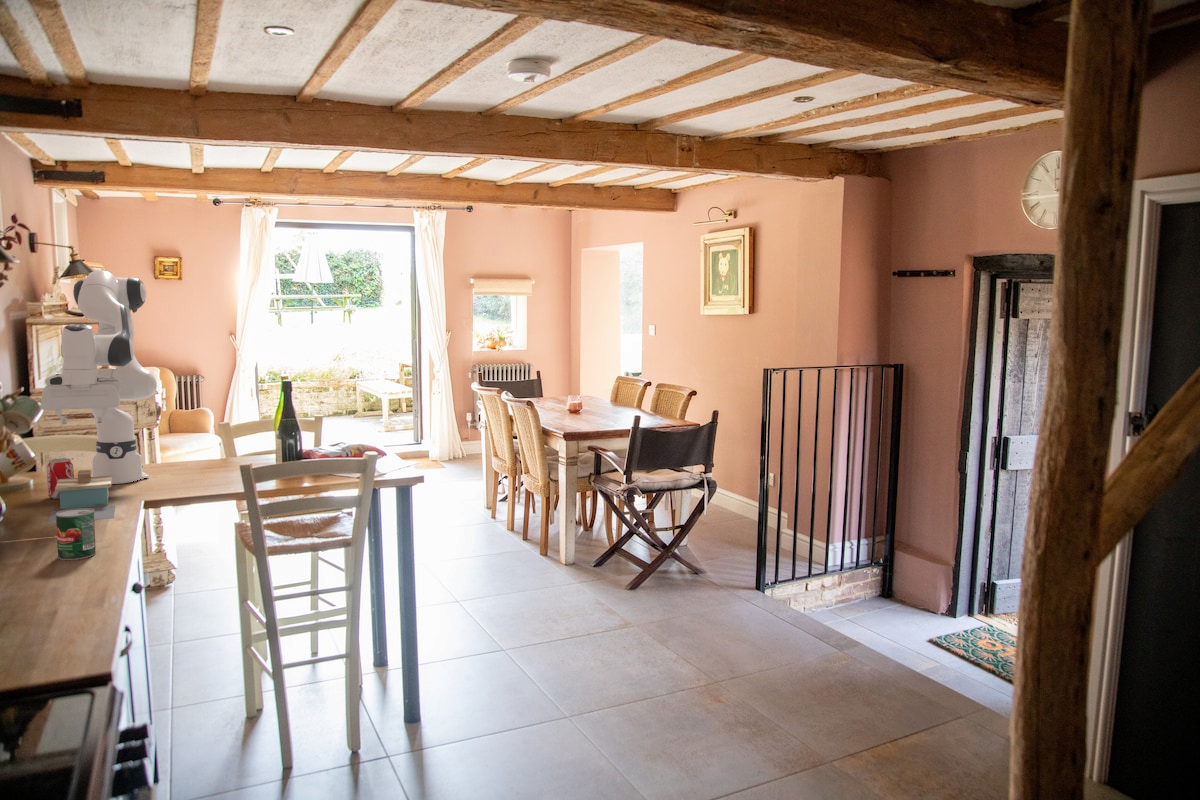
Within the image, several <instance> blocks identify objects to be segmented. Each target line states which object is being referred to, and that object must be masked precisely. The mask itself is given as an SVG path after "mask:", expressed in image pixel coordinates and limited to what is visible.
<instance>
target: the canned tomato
mask: <svg viewBox="0 0 1200 800" xmlns="http://www.w3.org/2000/svg"><path fill="white" fill-rule="evenodd" d="M90 508H91V507H80V508H68V509H63V510H64V511H60V512H58V513H56V523H55V524H56V541H57V543H56V544H57V559H58V560H59V559H60V561H65V560H71V561H79V559H80V560H85V559H88V557H89V558H91V556H92V557H94V556H95V555H96V554H97V552H96V548H97V547H96V530H95V528H96V527H95V520H94V510H93V509H90ZM93 555H94V556H93ZM84 558H85V559H84Z"/></svg>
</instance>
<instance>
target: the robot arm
mask: <svg viewBox="0 0 1200 800" xmlns="http://www.w3.org/2000/svg"><path fill="white" fill-rule="evenodd" d="M146 289H147V288H146V286H145V285H144V282H143V281H142V280H141V279H140V278H136V277H131V276H130V277H129V276H128V277H121V276H120V277H119V276H117V277H116V276H115V275H114V274H113V273H111V272H109V271H107V270H103V269H98V270H97V269H96V270H93V271H92V272H90V273H89V274H87V276H86V277H85V278H84V279H80V280H78V281H76V283H75V284H74V286H73V290H72V291H73V292H72V295H73V299H74V301H75V304H76V305H77V306H78V309H79V310H80V313H82V314H83V315H84V316H85V317H86V318H88V319H89V320H91V321H93V322H96V323H97V322H98V326H97V327H98V328H97V334H94V333H95V332H94V328H93V326H91V325H89V324H85V323H73V324H68V325H66V326H64V327H63V328H62V333H61V343H60V352H61V358H62V359H63V363H62V368H61V369H62V370H61V371H62V372H61V373H56V374H54V375H51V376H47V377H46V378H45V379H44V384H45V385H46V386H44V388H43V389H42V392H41V399H40V407H41V409H42V410H44V411H51V410H52V411H53V410H55V414H56V416H57V417H58V418H59V420H60V425H67V424H68V421H67V420H68V418H67V417H64V416H63V415H62V414H61V413H62V412H63V410H83V409H84V410H85V409H86V410H87V409H89V410H90V411H91V413H92V415H93V417H94V420H95V426H96V427H95V428H96V437H97V440H96V443H95V444H96V445H95V449H96V454H95V455H94V456H93V457H92V458H91V461H90V462H91V477H97V476H112V482H111V485H114V484H115V485H116V484H118V485H119V484H127V483H128V484H129V483H133V481H134V482H137V480H138V481H141V480H145V479H144V478H147V479H149V478H150V476H149V474H147V473H146V472H144V471H143V462H142V461H143V460H142V455H141V454H140V453H139V452H138V451H137V444H138V443H137V439H136V438H135V420H134V418H133V417H132V415H131V414H129V413H128V412H126V411H123V410H121V409H118V408H119V407H120V406H121V402H122V401H139V400H140V401H141V400H145V399H150V398H151V397H152V396H153V395H154V394H155V392H156V390H157V383H158V382H157V379H156V377H155V375H154V374H153V373H152V372H151V371H150V370H148V369H146V368H145V367H143V366H142V365H141V364H140V362H138V360H137V357H136V355H135V343H134V342H135V330H134V328H135V327H134V321H133V316H132V313H133V314H135V313H137V311H138V310H139V309H140V308H142V306H143V305H144V304H145V302H146V299H147V290H146ZM131 311H132V313H131ZM97 366H112V367H115V368H106V369H105V368H98V367H97ZM148 477H149V478H148ZM140 479H141V480H140Z"/></svg>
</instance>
